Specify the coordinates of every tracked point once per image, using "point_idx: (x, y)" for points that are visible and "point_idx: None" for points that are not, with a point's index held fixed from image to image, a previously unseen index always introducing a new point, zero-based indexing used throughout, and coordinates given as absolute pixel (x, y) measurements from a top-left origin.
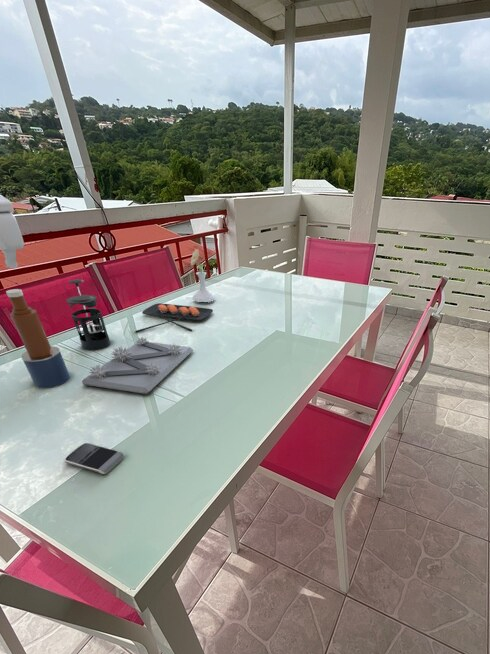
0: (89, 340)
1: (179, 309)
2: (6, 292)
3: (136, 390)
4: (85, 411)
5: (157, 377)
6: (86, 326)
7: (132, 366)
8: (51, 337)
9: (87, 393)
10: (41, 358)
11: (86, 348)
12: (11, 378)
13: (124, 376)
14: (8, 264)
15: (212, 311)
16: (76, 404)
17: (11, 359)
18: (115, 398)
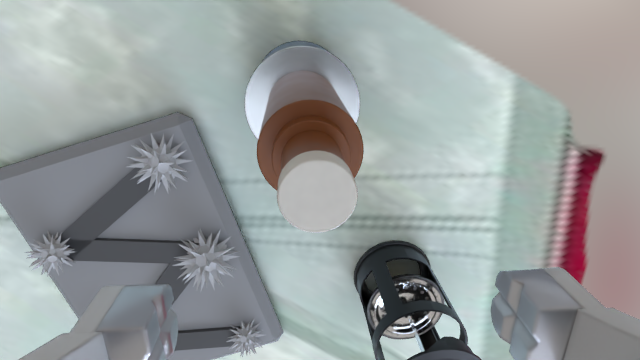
0: (377, 267)
1: None
2: (323, 159)
3: (13, 166)
4: (52, 33)
5: (25, 236)
6: (384, 300)
7: (139, 239)
8: (551, 236)
9: (144, 95)
10: (258, 83)
11: (388, 245)
12: (411, 28)
13: (99, 192)
14: (93, 305)
15: None
16: (109, 42)
17: (525, 96)
18: (57, 119)
